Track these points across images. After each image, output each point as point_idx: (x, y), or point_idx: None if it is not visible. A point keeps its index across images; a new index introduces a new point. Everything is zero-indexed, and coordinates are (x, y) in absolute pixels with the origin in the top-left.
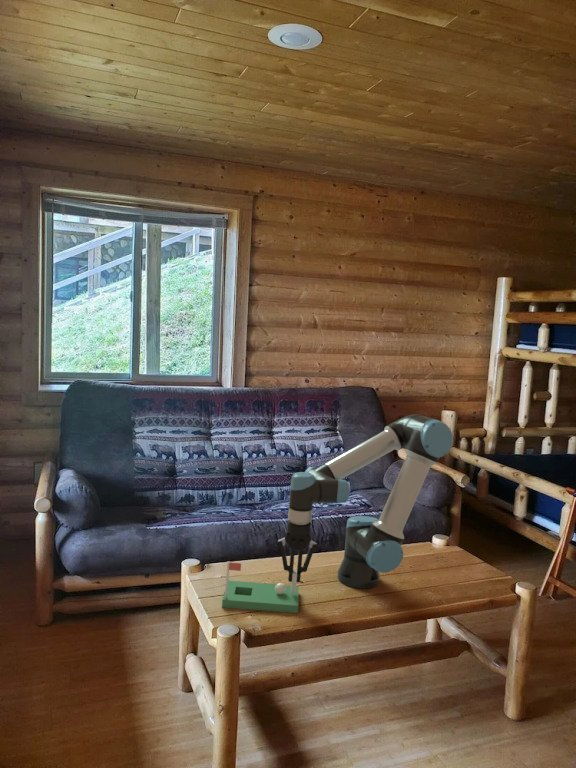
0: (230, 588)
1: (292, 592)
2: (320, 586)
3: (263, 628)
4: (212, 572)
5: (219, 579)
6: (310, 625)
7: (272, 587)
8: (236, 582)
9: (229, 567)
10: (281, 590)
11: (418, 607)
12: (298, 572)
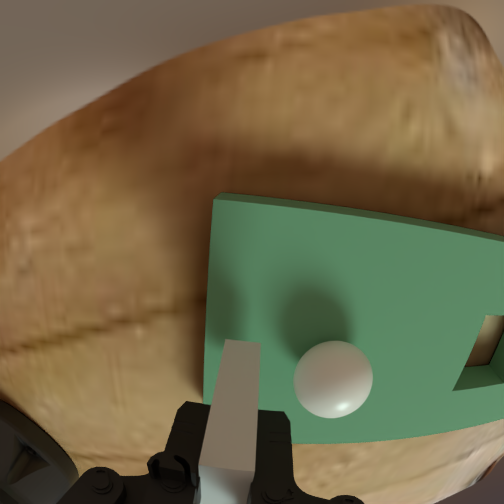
0: None
1: (248, 343)
2: (116, 441)
3: (429, 39)
4: (479, 462)
5: (483, 439)
6: (160, 63)
7: (353, 416)
8: (486, 415)
9: None
10: (336, 351)
11: None
12: (178, 473)
